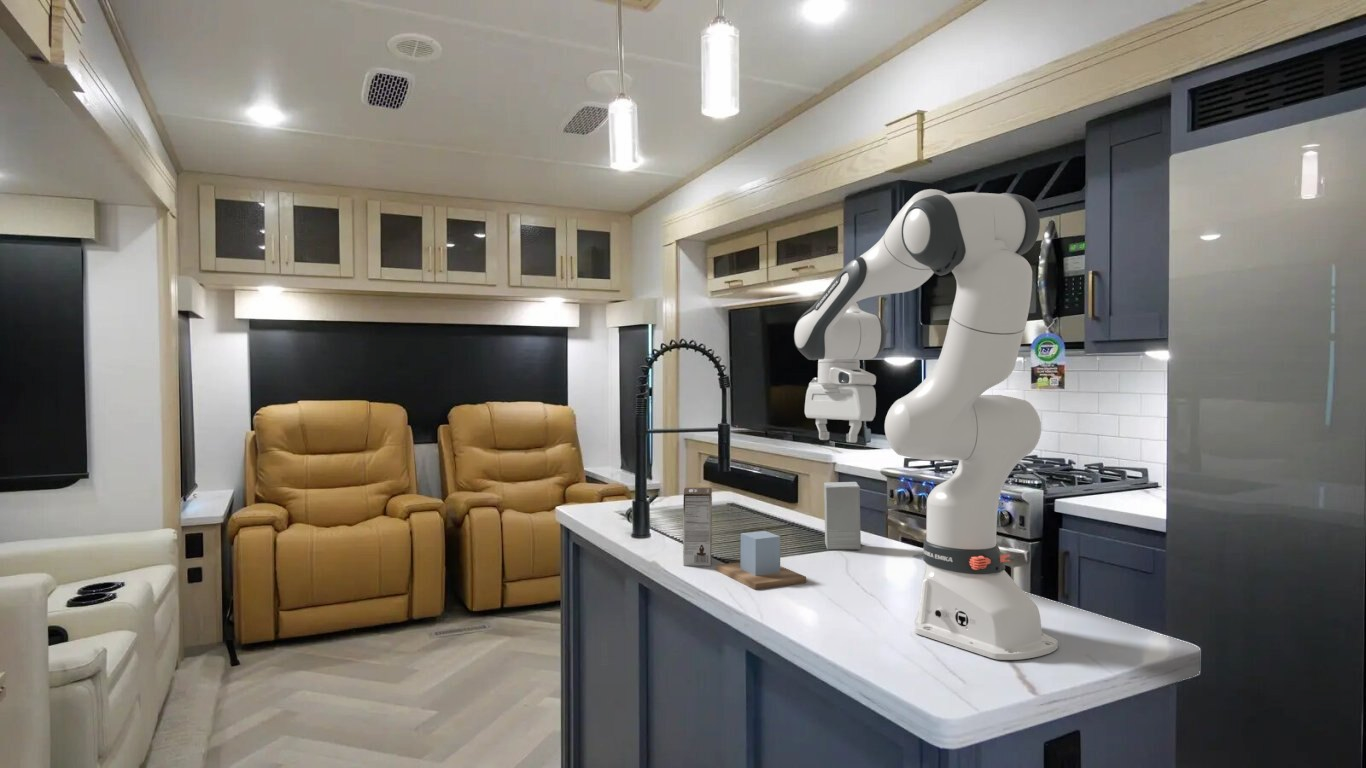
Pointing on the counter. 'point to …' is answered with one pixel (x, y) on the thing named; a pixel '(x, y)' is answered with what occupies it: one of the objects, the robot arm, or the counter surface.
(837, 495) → the skincare box
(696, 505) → the coffee box
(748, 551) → the pale blue cube
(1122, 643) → the counter surface
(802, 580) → the post base
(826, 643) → the counter surface
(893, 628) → the counter surface
